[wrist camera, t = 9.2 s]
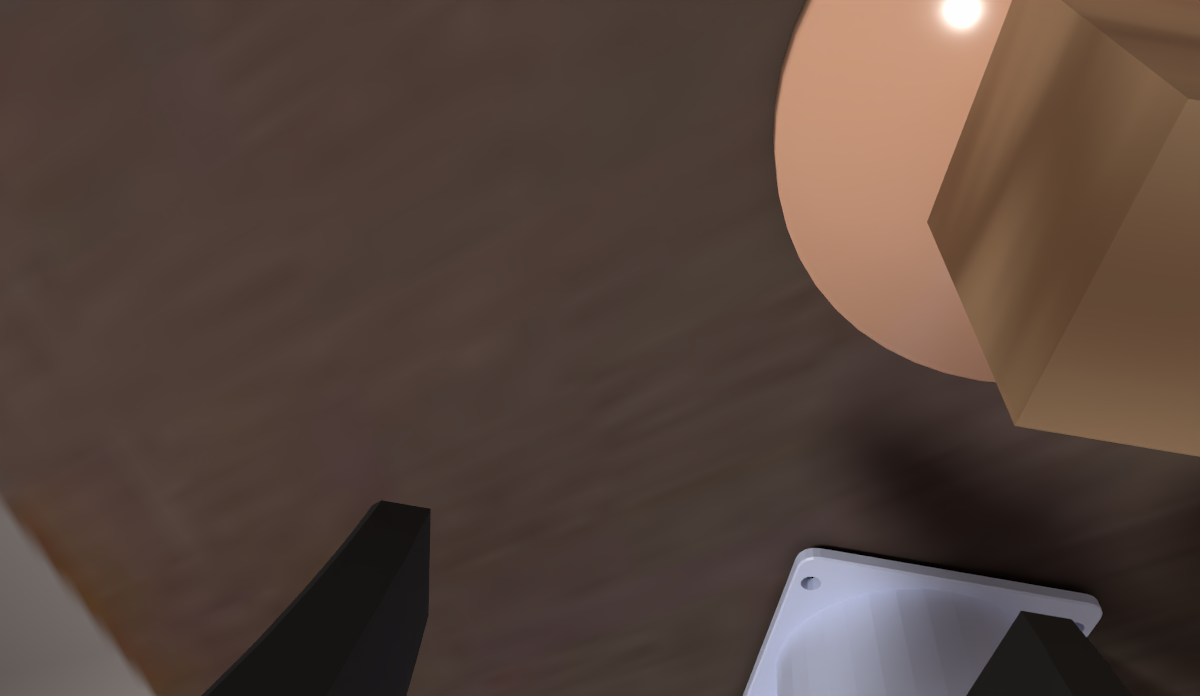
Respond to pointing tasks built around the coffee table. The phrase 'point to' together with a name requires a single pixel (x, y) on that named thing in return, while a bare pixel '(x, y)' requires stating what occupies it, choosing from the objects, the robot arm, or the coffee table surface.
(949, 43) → the peach flat disc
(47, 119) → the coffee table surface
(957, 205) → the block
